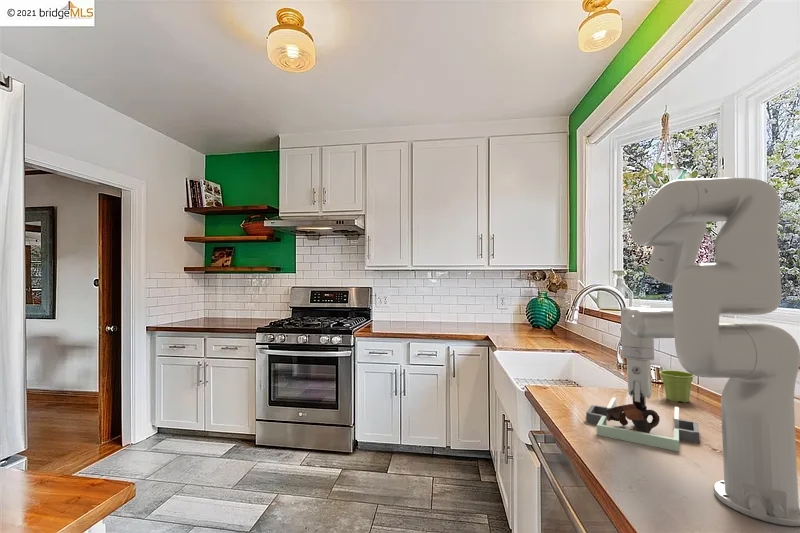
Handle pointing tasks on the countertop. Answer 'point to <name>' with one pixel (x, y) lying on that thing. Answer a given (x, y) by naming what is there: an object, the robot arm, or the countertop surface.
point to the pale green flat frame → (682, 431)
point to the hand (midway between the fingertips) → (639, 420)
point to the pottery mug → (634, 417)
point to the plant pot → (677, 385)
